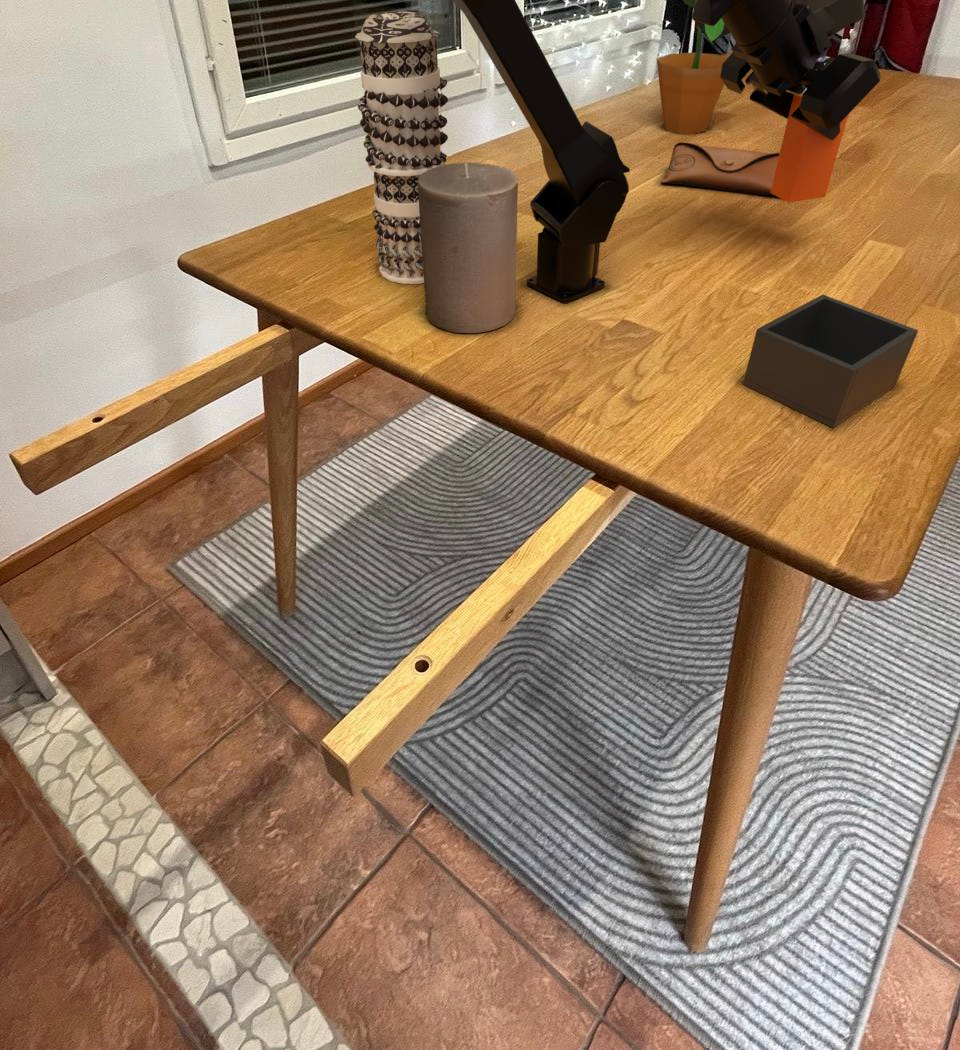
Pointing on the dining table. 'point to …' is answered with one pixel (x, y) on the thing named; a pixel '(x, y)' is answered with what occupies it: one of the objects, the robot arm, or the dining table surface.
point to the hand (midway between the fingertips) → (824, 131)
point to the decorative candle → (400, 131)
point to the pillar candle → (469, 245)
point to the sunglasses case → (722, 168)
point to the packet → (804, 160)
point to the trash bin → (828, 359)
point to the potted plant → (691, 83)
